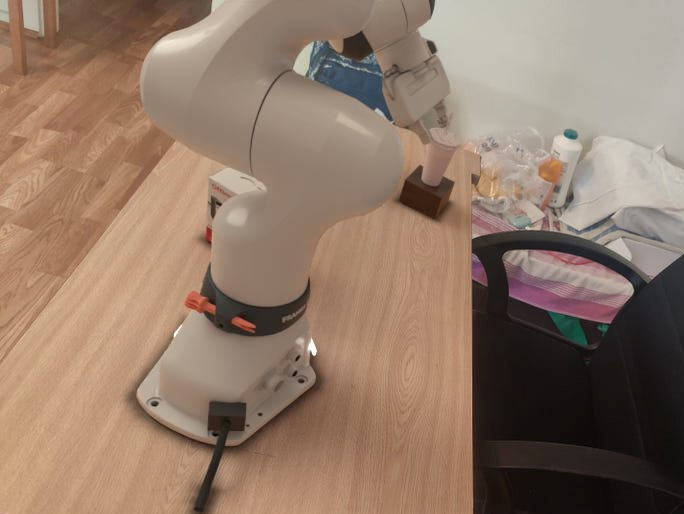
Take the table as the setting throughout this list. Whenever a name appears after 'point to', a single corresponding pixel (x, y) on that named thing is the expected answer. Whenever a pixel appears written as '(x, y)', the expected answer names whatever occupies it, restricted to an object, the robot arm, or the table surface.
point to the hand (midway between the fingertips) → (437, 134)
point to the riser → (425, 193)
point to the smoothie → (439, 154)
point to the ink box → (226, 191)
